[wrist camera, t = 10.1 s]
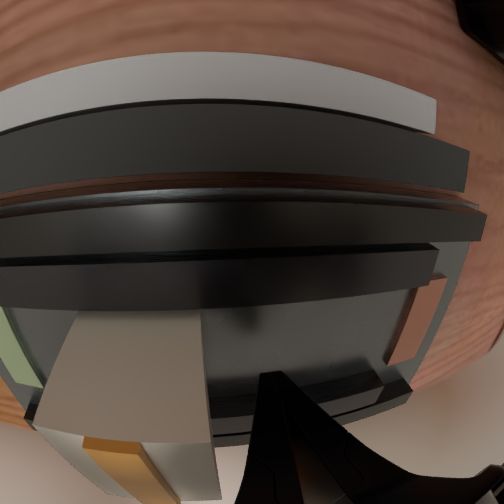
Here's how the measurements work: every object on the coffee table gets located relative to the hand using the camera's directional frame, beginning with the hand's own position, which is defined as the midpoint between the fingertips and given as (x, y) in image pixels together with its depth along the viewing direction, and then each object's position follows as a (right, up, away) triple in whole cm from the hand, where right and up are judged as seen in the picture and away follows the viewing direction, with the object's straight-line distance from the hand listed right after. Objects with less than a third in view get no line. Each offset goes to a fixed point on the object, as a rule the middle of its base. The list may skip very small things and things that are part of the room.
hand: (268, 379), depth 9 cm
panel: (-2, +1, +2) cm, 4 cm away
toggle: (-4, 0, +1) cm, 4 cm away
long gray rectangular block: (-2, +8, -1) cm, 9 cm away
